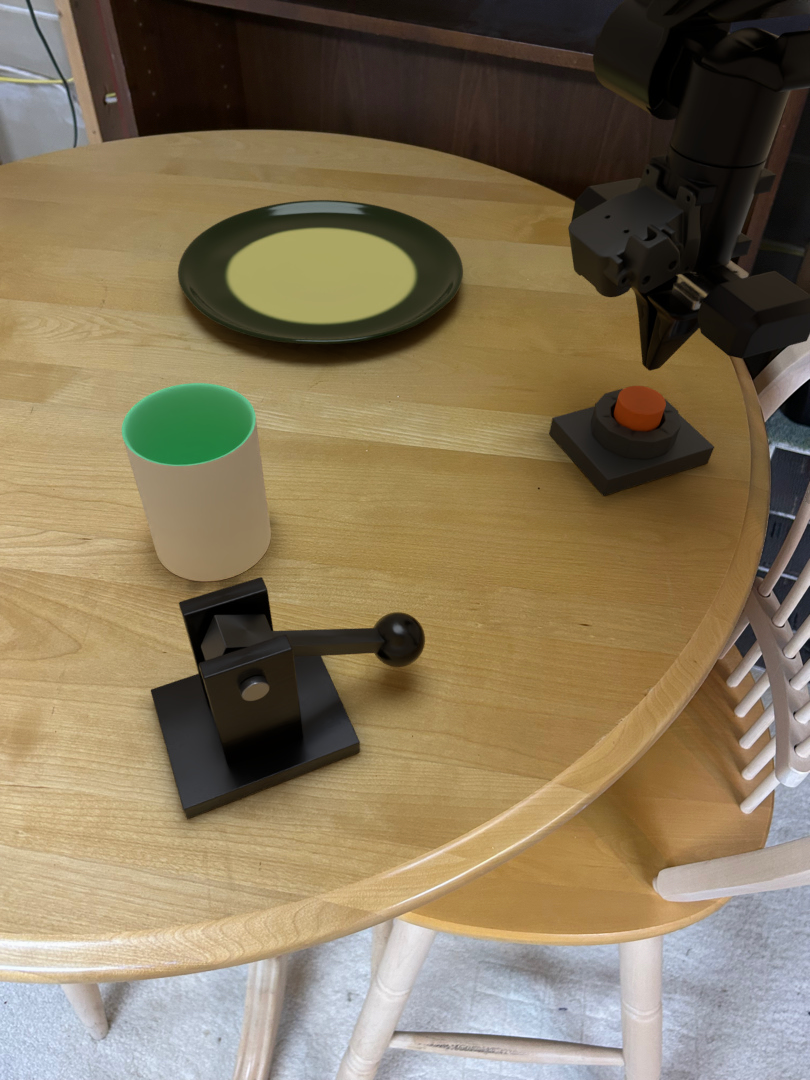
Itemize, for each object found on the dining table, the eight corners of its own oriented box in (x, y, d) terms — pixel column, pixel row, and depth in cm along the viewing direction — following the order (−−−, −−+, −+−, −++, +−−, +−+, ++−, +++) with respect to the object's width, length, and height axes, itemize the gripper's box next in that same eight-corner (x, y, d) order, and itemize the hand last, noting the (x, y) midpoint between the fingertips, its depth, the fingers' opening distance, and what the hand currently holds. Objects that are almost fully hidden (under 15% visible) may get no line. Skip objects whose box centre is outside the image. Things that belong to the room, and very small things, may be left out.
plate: (482, 360, 73) (485, 336, 71) (168, 370, 70) (162, 345, 68) (441, 217, 92) (443, 196, 90) (193, 221, 89) (189, 199, 87)
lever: (397, 636, 50) (419, 600, 48) (419, 676, 48) (443, 640, 46) (195, 643, 42) (213, 601, 40) (211, 692, 40) (231, 650, 38)
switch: (312, 646, 51) (303, 541, 44) (360, 752, 46) (358, 653, 39) (154, 700, 48) (116, 597, 41) (186, 819, 43) (150, 726, 36)
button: (669, 425, 62) (675, 407, 61) (631, 436, 61) (636, 418, 60) (642, 399, 64) (647, 381, 63) (604, 409, 63) (609, 391, 62)
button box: (708, 463, 64) (722, 429, 62) (603, 496, 61) (613, 461, 59) (648, 405, 69) (659, 371, 66) (548, 433, 66) (556, 399, 63)
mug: (147, 473, 61) (116, 358, 54) (253, 456, 63) (237, 342, 55) (159, 591, 53) (124, 476, 46) (280, 568, 55) (265, 453, 48)
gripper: (523, 109, 51) (495, 324, 63) (710, 241, 40) (634, 474, 51) (665, 90, 55) (614, 297, 66) (875, 206, 43) (769, 432, 55)
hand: (650, 367), depth 59 cm, fingers closed
